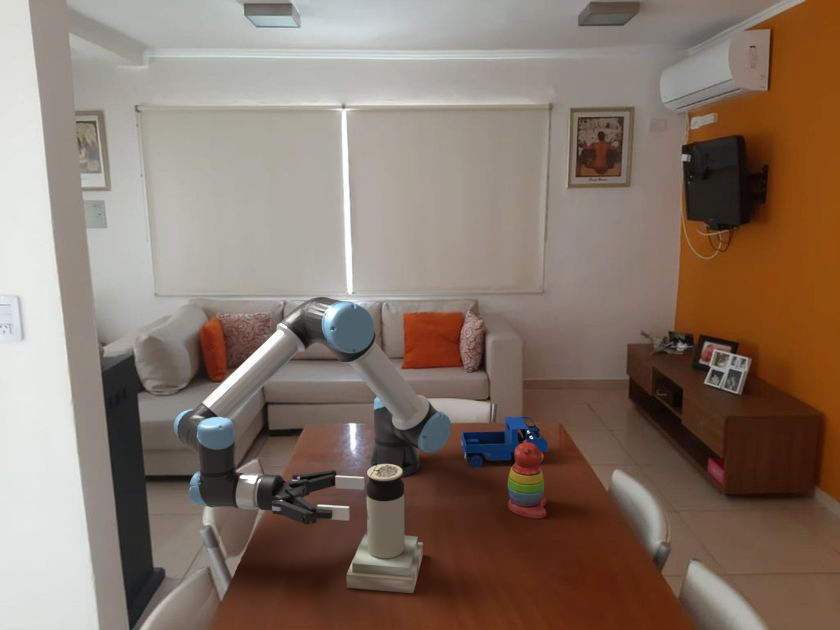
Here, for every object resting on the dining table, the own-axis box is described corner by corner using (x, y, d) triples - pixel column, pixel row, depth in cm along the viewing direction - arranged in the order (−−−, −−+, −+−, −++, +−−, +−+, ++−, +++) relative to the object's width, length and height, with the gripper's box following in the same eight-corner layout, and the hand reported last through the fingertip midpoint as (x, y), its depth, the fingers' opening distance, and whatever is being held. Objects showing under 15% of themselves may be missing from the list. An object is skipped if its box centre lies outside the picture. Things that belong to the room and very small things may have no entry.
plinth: (362, 550, 139) (362, 530, 138) (422, 554, 137) (422, 534, 136) (346, 587, 125) (346, 565, 124) (413, 593, 123) (413, 571, 122)
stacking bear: (546, 520, 152) (548, 453, 148) (505, 516, 154) (507, 450, 150) (546, 499, 162) (548, 437, 159) (508, 496, 164) (509, 434, 161)
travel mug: (409, 542, 133) (409, 465, 129) (396, 562, 125) (395, 481, 122) (376, 536, 135) (375, 461, 132) (361, 555, 128) (359, 476, 125)
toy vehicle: (465, 468, 182) (465, 430, 180) (461, 452, 194) (461, 416, 191) (547, 466, 183) (548, 429, 180) (538, 450, 194) (539, 415, 192)
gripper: (282, 482, 144) (369, 487, 141) (238, 538, 120) (342, 545, 117) (281, 452, 143) (369, 457, 140) (236, 503, 119) (341, 510, 116)
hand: (357, 497), depth 129 cm, fingers open, 13 cm apart
